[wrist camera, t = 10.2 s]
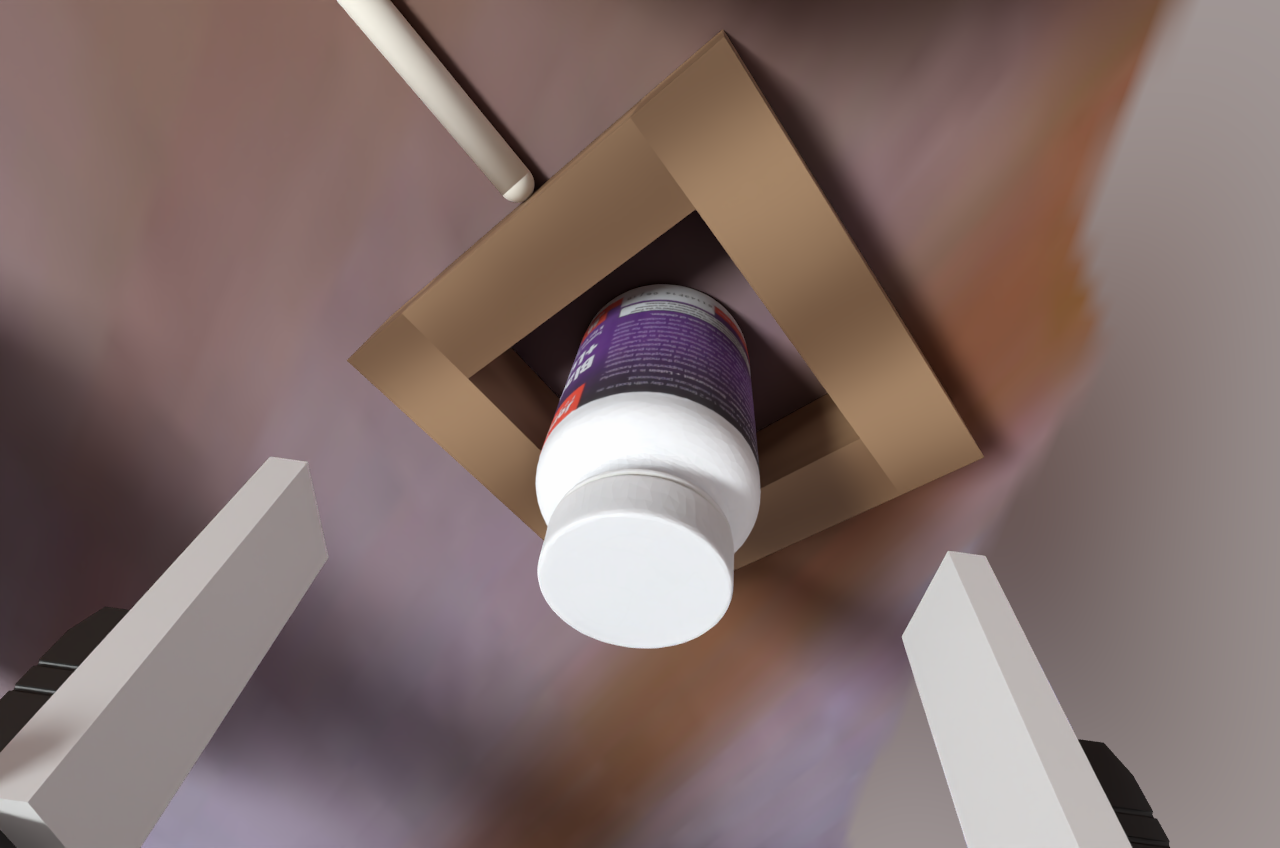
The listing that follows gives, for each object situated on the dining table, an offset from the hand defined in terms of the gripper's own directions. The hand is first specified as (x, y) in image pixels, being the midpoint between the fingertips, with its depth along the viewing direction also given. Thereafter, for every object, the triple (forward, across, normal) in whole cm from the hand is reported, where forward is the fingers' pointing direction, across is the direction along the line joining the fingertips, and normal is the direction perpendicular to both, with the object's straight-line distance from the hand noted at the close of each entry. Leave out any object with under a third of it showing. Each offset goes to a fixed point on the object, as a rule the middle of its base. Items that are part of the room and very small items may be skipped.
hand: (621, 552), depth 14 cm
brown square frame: (+9, +1, 0) cm, 9 cm away
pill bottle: (+9, 0, 0) cm, 9 cm away
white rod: (+9, -8, +8) cm, 15 cm away
